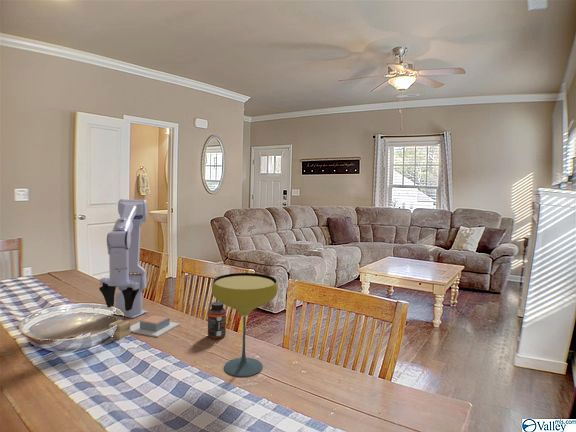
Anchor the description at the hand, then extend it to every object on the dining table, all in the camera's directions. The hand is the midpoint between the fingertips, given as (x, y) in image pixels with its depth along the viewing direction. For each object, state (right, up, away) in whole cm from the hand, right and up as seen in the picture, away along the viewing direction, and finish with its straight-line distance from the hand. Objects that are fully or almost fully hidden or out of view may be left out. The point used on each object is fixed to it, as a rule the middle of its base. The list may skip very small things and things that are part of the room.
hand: (119, 308), depth 126 cm
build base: (+8, -9, +9) cm, 15 cm away
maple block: (0, -9, +1) cm, 10 cm away
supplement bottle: (+31, -10, +3) cm, 33 cm away
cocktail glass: (+43, -13, -18) cm, 48 cm away
